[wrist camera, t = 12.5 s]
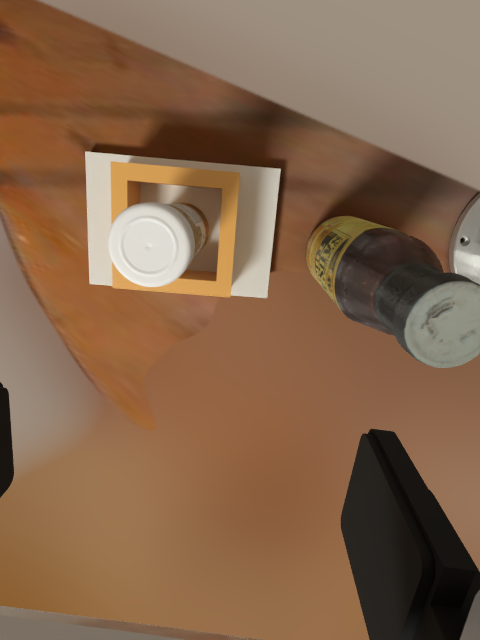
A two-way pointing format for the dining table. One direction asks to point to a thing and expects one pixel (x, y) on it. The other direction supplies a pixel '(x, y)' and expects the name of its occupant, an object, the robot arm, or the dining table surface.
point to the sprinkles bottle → (156, 241)
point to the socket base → (207, 195)
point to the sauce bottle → (397, 289)
